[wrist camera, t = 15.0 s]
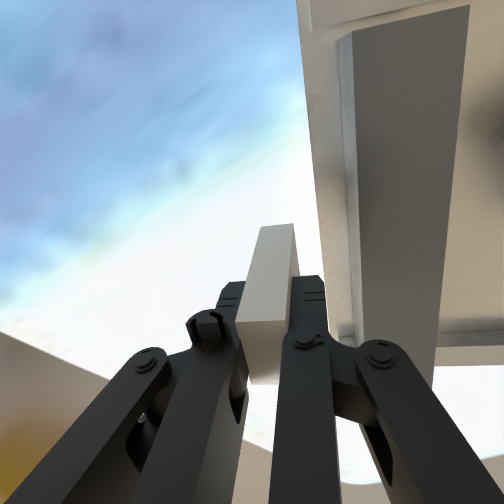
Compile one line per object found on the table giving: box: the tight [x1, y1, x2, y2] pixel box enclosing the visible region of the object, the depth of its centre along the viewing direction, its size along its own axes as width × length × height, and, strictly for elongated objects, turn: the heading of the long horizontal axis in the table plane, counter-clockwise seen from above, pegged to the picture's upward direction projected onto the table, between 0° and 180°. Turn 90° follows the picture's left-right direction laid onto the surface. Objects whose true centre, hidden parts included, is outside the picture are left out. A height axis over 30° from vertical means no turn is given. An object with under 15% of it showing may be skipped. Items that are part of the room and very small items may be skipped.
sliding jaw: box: [338, 4, 470, 389], centre depth 15 cm, size 16×3×5 cm, turn 11°
